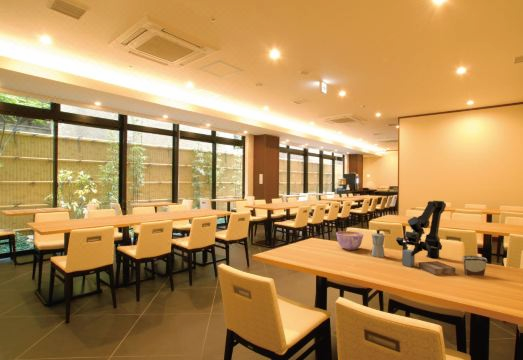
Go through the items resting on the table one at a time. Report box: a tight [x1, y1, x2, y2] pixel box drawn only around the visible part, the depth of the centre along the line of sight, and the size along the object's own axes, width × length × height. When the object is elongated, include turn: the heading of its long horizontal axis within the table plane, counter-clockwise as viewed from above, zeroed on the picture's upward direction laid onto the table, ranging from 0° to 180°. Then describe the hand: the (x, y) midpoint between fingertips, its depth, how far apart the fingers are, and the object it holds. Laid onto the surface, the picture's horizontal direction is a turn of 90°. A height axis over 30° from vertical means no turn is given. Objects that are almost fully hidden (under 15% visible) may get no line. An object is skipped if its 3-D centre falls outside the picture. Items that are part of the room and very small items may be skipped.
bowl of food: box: [335, 230, 364, 251], centre depth 220 cm, size 20×20×12 cm
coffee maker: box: [371, 229, 386, 258], centre depth 201 cm, size 15×9×18 cm, turn 137°
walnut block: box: [417, 260, 456, 276], centre depth 168 cm, size 13×13×4 cm
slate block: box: [401, 249, 416, 268], centre depth 178 cm, size 5×5×9 cm
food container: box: [461, 254, 488, 277], centre depth 163 cm, size 12×6×10 cm, turn 84°
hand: (407, 254), depth 177 cm, fingers closed on slate block, 5 cm apart
